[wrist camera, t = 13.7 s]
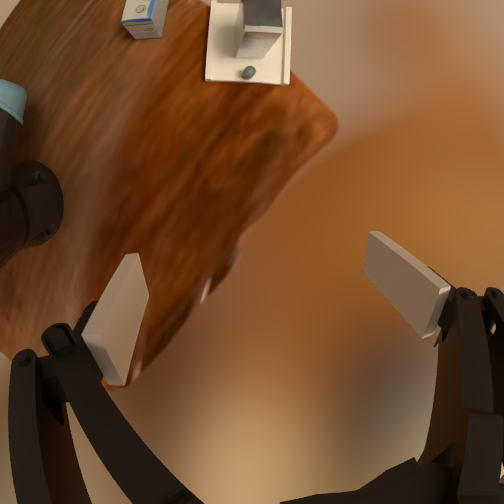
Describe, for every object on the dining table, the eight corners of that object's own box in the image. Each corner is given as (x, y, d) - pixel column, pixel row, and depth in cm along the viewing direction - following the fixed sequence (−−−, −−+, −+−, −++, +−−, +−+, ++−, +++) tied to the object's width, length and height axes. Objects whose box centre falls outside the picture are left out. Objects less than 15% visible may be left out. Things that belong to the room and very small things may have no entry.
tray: (205, 81, 34) (204, 76, 30) (211, 5, 28) (211, -5, 25) (285, 85, 36) (293, 81, 32) (288, 11, 30) (295, 2, 26)
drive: (234, 58, 32) (244, 31, 21) (234, 25, 30) (243, -10, 19) (263, 59, 33) (283, 32, 22) (261, 26, 30) (280, -8, 19)
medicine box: (143, 1, 26) (130, -22, 18) (170, -1, 27) (163, -26, 19) (135, 40, 29) (118, 22, 21) (163, 38, 30) (152, 18, 22)
